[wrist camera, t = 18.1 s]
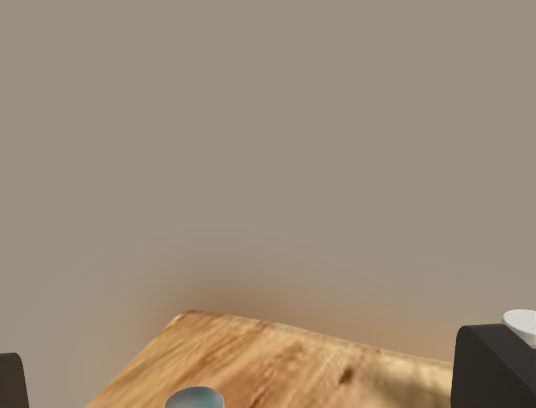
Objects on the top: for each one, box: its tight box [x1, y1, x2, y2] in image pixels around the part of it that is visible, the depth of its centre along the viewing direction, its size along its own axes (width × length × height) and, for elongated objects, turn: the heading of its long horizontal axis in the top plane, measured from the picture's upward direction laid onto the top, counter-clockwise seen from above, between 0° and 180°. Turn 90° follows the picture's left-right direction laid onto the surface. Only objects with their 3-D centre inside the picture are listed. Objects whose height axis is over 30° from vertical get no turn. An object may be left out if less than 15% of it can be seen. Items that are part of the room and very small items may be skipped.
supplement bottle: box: [502, 310, 536, 348], centre depth 46 cm, size 7×7×13 cm
